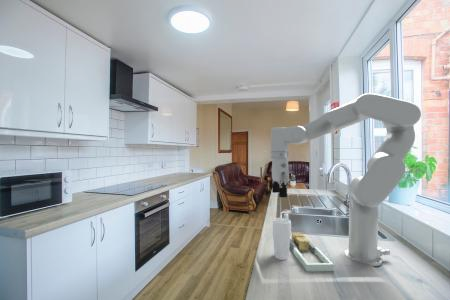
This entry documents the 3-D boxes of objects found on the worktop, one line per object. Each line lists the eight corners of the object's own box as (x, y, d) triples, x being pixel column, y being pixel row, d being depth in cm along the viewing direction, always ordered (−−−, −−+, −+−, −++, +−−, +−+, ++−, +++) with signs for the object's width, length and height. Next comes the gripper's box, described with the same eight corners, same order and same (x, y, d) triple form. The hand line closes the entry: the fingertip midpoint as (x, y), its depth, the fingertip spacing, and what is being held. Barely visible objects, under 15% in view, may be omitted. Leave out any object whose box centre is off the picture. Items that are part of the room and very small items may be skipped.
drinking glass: (291, 264, 82) (291, 224, 82) (272, 262, 84) (272, 222, 84) (289, 256, 89) (290, 218, 89) (272, 254, 90) (272, 217, 90)
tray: (316, 255, 90) (317, 247, 89) (334, 274, 77) (334, 264, 77) (293, 256, 89) (293, 247, 89) (306, 274, 76) (306, 264, 76)
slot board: (304, 242, 102) (304, 235, 101) (315, 255, 90) (315, 247, 89) (285, 243, 101) (285, 235, 101) (294, 256, 89) (294, 248, 89)
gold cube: (300, 241, 100) (300, 232, 100) (303, 245, 96) (304, 236, 96) (291, 241, 100) (291, 232, 100) (294, 245, 96) (294, 236, 96)
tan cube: (304, 246, 95) (305, 237, 95) (308, 251, 91) (308, 241, 91) (295, 246, 95) (295, 237, 95) (298, 251, 91) (299, 241, 91)
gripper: (295, 156, 91) (295, 199, 91) (281, 154, 108) (281, 190, 108) (277, 156, 90) (277, 199, 90) (265, 154, 107) (265, 190, 107)
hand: (279, 194), depth 99 cm, fingers open, 9 cm apart
